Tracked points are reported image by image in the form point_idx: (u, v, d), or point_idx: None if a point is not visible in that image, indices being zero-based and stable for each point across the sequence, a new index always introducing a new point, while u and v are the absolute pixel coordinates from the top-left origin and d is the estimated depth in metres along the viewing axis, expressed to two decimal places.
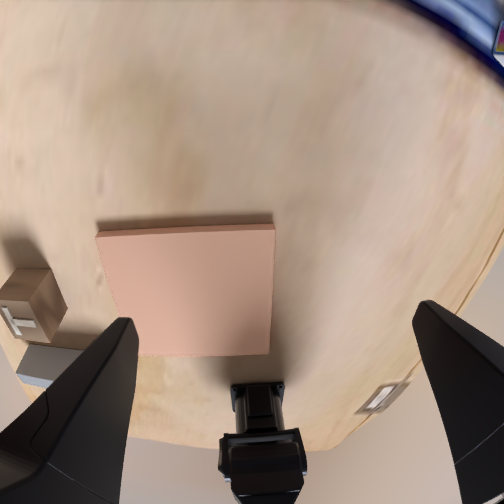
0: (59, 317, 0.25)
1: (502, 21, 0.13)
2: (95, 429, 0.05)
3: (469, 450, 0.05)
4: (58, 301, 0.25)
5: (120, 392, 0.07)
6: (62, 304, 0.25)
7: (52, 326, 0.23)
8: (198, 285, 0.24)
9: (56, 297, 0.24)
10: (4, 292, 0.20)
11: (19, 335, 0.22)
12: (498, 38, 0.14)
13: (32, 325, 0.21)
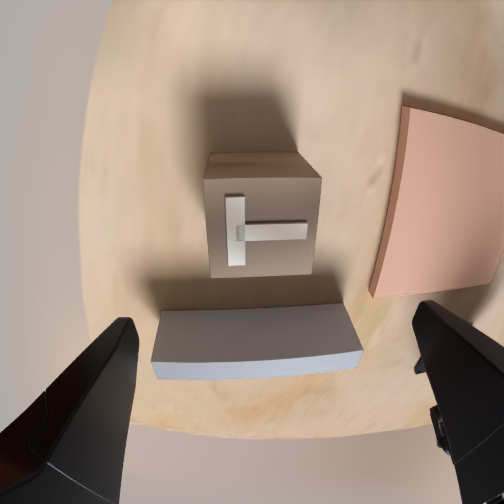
0: None
1: None
2: (95, 429, 0.05)
3: (469, 450, 0.05)
4: None
5: (120, 392, 0.07)
6: None
7: None
8: (481, 191, 0.17)
9: None
10: (227, 171, 0.13)
11: (232, 268, 0.15)
12: None
13: (298, 234, 0.14)
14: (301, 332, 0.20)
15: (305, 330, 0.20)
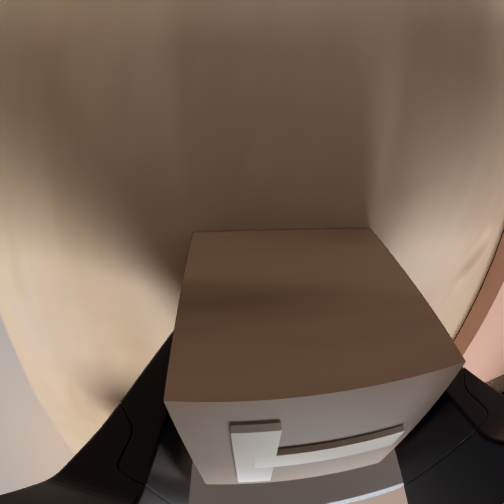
0: None
1: None
2: (177, 438, 0.05)
3: (417, 473, 0.05)
4: None
5: None
6: None
7: None
8: None
9: None
10: (233, 344, 0.05)
11: None
12: None
13: (380, 445, 0.05)
14: None
15: None
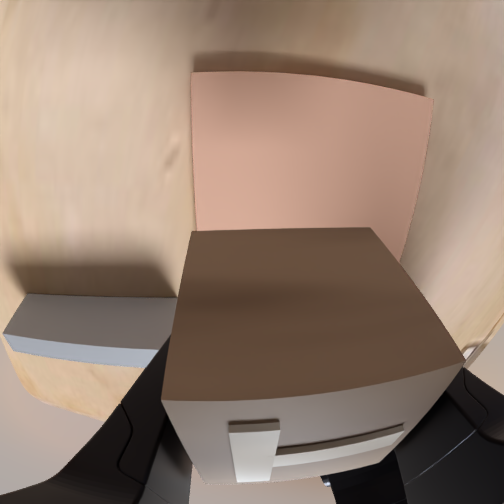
0: None
1: None
2: (177, 438, 0.05)
3: (417, 473, 0.05)
4: None
5: None
6: None
7: None
8: (337, 164, 0.16)
9: None
10: (231, 342, 0.05)
11: None
12: None
13: (379, 445, 0.05)
14: (118, 322, 0.19)
15: (123, 321, 0.19)
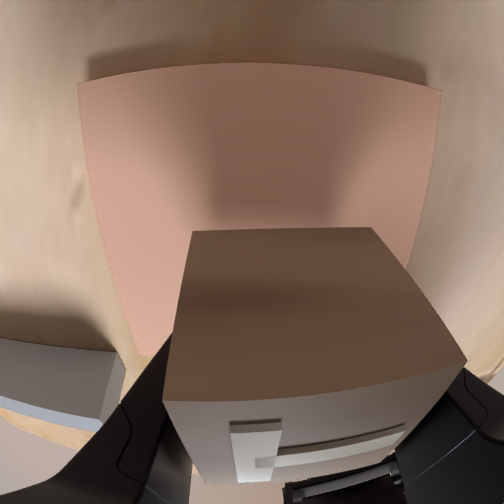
0: None
1: None
2: (177, 438, 0.05)
3: (417, 473, 0.05)
4: None
5: None
6: None
7: None
8: (294, 193, 0.11)
9: None
10: (233, 342, 0.05)
11: None
12: None
13: (380, 445, 0.05)
14: (54, 379, 0.14)
15: (58, 377, 0.14)
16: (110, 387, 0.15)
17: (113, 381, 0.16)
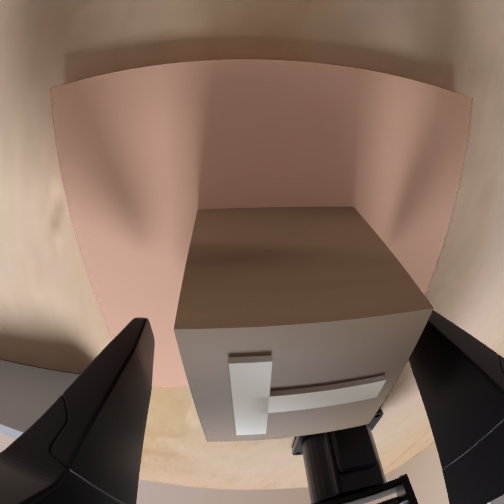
0: None
1: None
2: (115, 432, 0.05)
3: (457, 456, 0.05)
4: None
5: (138, 394, 0.07)
6: None
7: None
8: None
9: None
10: (231, 287, 0.06)
11: (244, 434, 0.07)
12: None
13: (364, 395, 0.06)
14: (45, 405, 0.13)
15: (50, 404, 0.13)
16: None
17: None
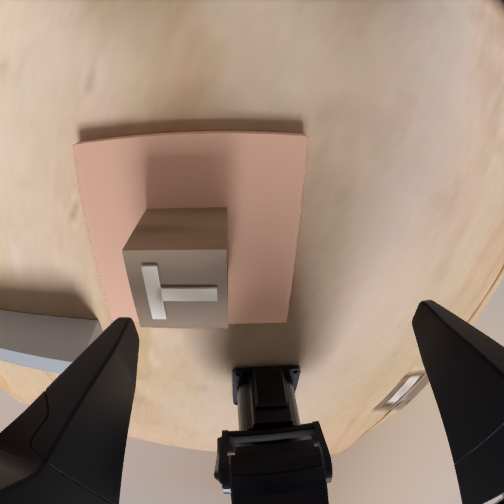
0: None
1: None
2: (95, 429, 0.05)
3: (469, 450, 0.05)
4: None
5: (120, 392, 0.07)
6: None
7: None
8: None
9: None
10: (146, 238, 0.14)
11: (157, 320, 0.16)
12: None
13: (209, 297, 0.15)
14: (51, 338, 0.21)
15: (55, 337, 0.21)
16: None
17: (93, 340, 0.22)
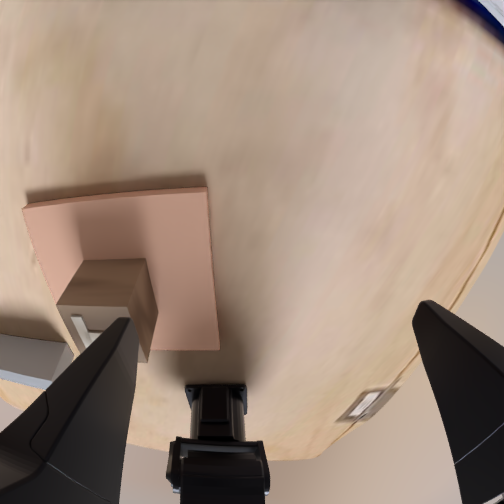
0: (152, 326, 0.20)
1: None
2: (95, 429, 0.05)
3: (469, 450, 0.05)
4: (151, 304, 0.21)
5: (120, 392, 0.07)
6: (154, 308, 0.21)
7: (148, 339, 0.19)
8: None
9: (150, 298, 0.20)
10: (74, 293, 0.16)
11: None
12: None
13: None
14: (30, 358, 0.23)
15: (32, 357, 0.23)
16: (60, 363, 0.24)
17: (63, 360, 0.24)
